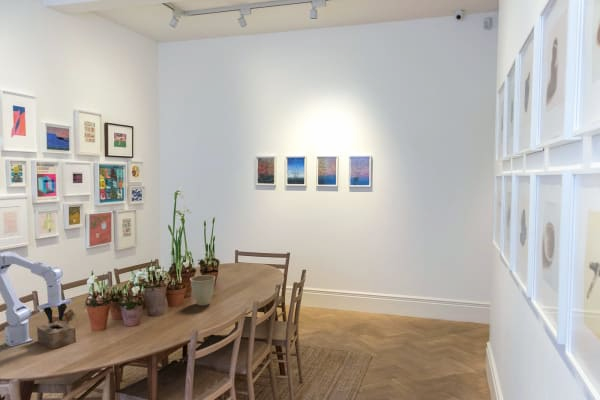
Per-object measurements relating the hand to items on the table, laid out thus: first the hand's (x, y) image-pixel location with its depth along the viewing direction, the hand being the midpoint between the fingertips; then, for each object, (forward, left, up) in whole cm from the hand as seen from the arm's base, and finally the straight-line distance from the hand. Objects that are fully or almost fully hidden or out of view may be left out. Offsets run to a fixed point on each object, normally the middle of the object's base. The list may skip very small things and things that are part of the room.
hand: (55, 321), depth 211 cm
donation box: (0, 0, -10) cm, 10 cm away
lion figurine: (+10, +20, -10) cm, 24 cm away
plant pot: (+81, -8, -10) cm, 82 cm away
